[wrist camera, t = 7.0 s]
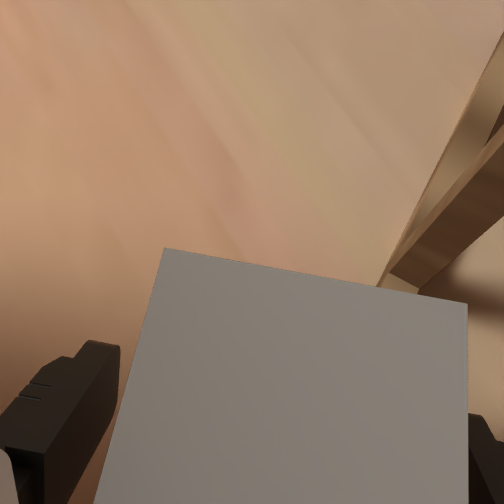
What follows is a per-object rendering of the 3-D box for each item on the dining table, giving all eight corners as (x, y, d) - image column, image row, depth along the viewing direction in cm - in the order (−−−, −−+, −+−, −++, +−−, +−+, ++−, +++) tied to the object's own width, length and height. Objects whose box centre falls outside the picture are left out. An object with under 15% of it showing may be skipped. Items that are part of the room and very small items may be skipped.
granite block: (319, 548, 15) (469, 699, 6) (162, 517, 15) (62, 614, 6) (335, 386, 17) (467, 303, 8) (197, 360, 17) (164, 247, 8)
